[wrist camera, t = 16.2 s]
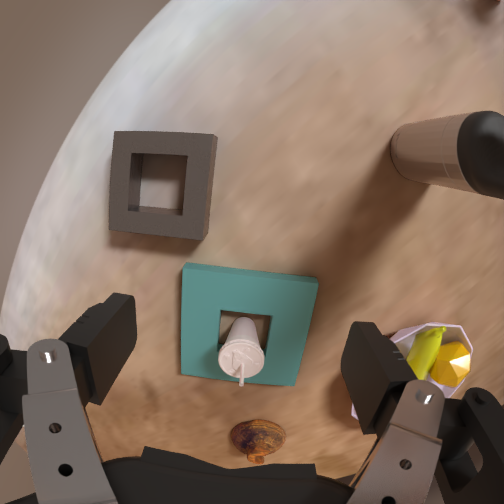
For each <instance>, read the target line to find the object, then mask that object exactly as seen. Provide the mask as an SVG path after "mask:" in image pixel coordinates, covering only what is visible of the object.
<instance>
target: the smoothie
mask: <svg viewBox="0 0 504 504" xmlns="http://www.w3.org/2000/svg"><path fill="white" fill-rule="evenodd" d="M218 361H219V365H220V367H221V369H222V370H223V371H224V372H225V373H226V374H228V375H230V376H232V377H236V378H240V381H239V386H243V385H244V378H249V377H252V376H254V375H256V374H257V373H259V372H260V371H261V369H262V368H263V365H264V353H263V350H262V349H261V348H260V344H259V340H258V336H257V332H256V327H255V324H254V322H253V320H251V319H250V318H248V317H240V318H237V319H236V320H235V321H234V323H233V325H232V327H231V330H230V332H229V335H228V337H227V340H226V342H225V345H223V346H222V348H221V349H220V351H219V358H218Z"/></svg>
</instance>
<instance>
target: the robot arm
mask: <svg viewBox="0 0 504 504" xmlns="http://www.w3.org/2000/svg"><path fill="white" fill-rule="evenodd" d="M391 158H392V161H393V163H394V165H395V167H396V169H397V170H398V171H399V173H400V174H401V175H403V176H404V177H405V178H407V179H409V180H412V181H417V182H423V183H428V184H433V185H439V186H444V187H449V188H454V189H459V190H463V191H468V192H473V193H477V194H482V195H486V196H490V197H495V198H500V199H504V116H503V115H501V114H499V113H497V112H493V111H480V112H473V113H466V114H460V115H454V116H448V117H442V118H436V119H431V120H425V121H420V122H415V123H410V124H406V125H403V126H401V127H400V128H399V129H398V130H397V131H396V132H395V134H394V136H393V138H392V141H391ZM136 340H137V324H136V308H135V299H134V297H133V296H132V295H126V294H120V293H113V294H112V295H111V296H110V297H109V298H108V299H107V300H106V301H105V302H104V303H99V304H96V305H94V306H92V307H90V308H88V309H87V310H86V311H85V312H84V313H83V314H82V317H81V316H80V317H79V318H78V319H77V320H76V322H74V323H73V324H72V325H71V326H70V327H69V328H68V329H67V330H66V331H65V332H64V333H63V334H62V335H61V337H60V338H59V339H58V340H57V339H44V340H40V341H38V342H36V343H34V344H33V345H31V346H30V347H29V349H28V351H20V350H11V349H10V346H9V343H8V340H7V338H6V337H5V336H4V335H1V334H0V464H1V462H2V461H3V459H4V457H5V455H6V454H7V451H8V450H9V448H10V447H11V445H12V443H13V442H14V440H15V438H16V437H17V435H18V433H19V432H20V430H21V428H22V427H23V425H24V429H25V437H26V444H27V451H28V457H29V463H30V468H31V473H32V477H33V482H34V487H35V491H36V492H35V493H33V494H30V495H28V496H25V497H22V498H20V499H17V500H14V501H11V502H8V503H5V504H424V502H425V499H426V496H427V493H428V490H429V488H430V484H431V481H432V478H433V475H435V477H436V480H437V483H438V485H439V488H440V491H441V494H442V497H443V500H444V503H445V504H504V409H503V408H502V406H501V405H500V404H499V402H498V401H497V399H496V398H495V397H494V396H493V395H492V394H491V393H490V392H488V391H487V390H485V389H482V388H477V387H474V388H470V389H468V390H467V391H466V393H465V394H464V396H463V398H462V399H461V400H459V399H451V398H445V396H444V393H443V392H442V390H441V389H440V388H439V387H438V386H437V385H435V384H433V383H431V382H429V381H426V380H419V379H418V378H417V376H416V375H415V373H414V372H413V370H412V368H411V367H410V365H409V364H408V362H407V361H406V360H404V356H403V355H402V353H400V350H399V349H398V347H397V346H396V344H395V343H394V342H393V341H391V340H390V339H389V338H387V337H386V336H385V335H382V334H381V332H380V331H379V329H378V328H377V326H376V325H375V323H373V322H357V321H355V322H353V324H352V325H351V328H350V331H349V335H348V338H347V341H346V345H345V348H344V351H343V354H342V358H341V372H342V375H343V377H344V380H345V383H346V386H347V389H348V391H349V394H350V397H351V400H352V403H353V406H354V409H355V411H356V414H357V417H358V420H359V423H360V426H361V429H362V432H363V435H365V434H376V435H377V439H376V441H375V442H374V444H373V446H372V448H371V450H370V451H369V453H368V455H367V457H366V458H365V460H364V462H363V464H362V465H361V467H360V469H359V470H358V472H357V474H356V475H355V477H354V479H353V480H352V482H351V483H350V485H349V486H348V485H346V484H344V483H342V482H340V481H337V480H335V479H332V478H329V477H325V476H321V475H317V474H316V468H315V464H268V465H262V466H255V467H247V468H239V469H226V468H222V467H219V466H216V465H213V464H210V463H207V462H205V461H202V460H199V459H196V458H193V457H191V456H188V455H186V454H180V453H175V452H170V451H165V450H160V449H155V448H151V447H147V446H145V447H144V450H143V453H142V456H141V457H137V456H135V457H123V458H116V459H112V460H108V461H105V462H104V460H103V458H102V455H101V453H100V450H99V447H98V445H97V442H96V439H95V436H94V433H93V431H92V428H91V425H90V422H89V418H88V415H87V412H86V409H85V407H86V405H87V404H88V402H91V403H94V404H97V405H100V406H101V404H102V402H103V400H104V399H105V397H106V395H107V393H108V392H109V390H110V388H111V386H112V385H113V383H114V381H115V379H116V378H117V376H118V374H119V373H120V371H121V369H122V368H123V366H124V364H125V362H126V361H127V359H128V357H129V356H130V354H131V352H132V351H133V349H134V347H135V344H136ZM474 442H475V443H476V445H477V447H478V449H479V451H480V453H481V454H482V456H483V466H482V468H481V470H480V471H479V473H478V472H477V470H476V468H475V466H474V464H473V462H472V460H471V458H470V456H469V453H468V451H467V450H468V449H469V448H470V447H471V445H472V444H473V443H474Z"/></svg>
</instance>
